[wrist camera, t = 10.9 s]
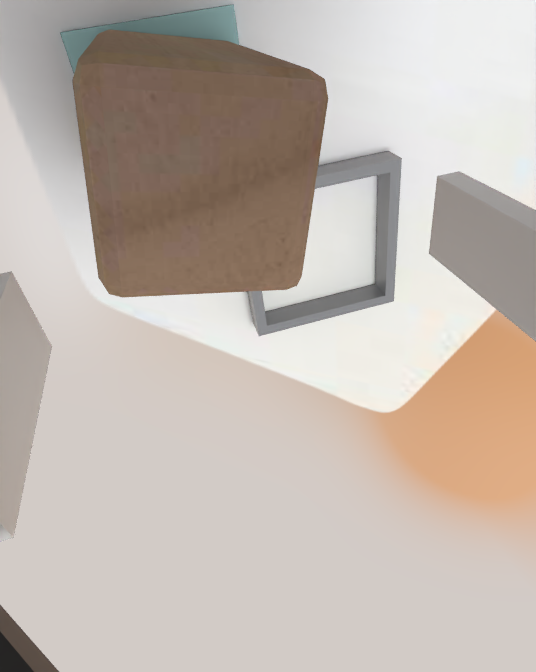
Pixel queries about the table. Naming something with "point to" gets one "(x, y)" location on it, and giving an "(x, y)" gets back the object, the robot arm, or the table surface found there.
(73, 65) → the board
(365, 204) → the table surface
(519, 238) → the robot arm
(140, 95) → the wooden block
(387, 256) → the gray square frame
